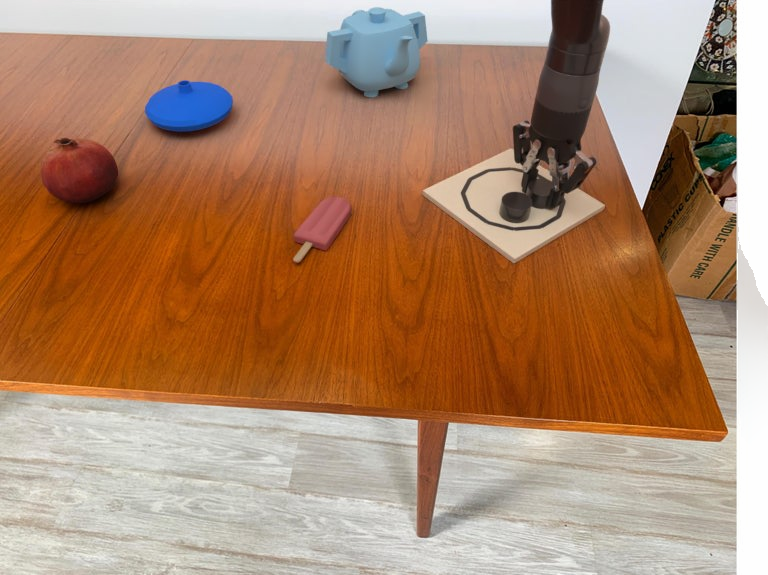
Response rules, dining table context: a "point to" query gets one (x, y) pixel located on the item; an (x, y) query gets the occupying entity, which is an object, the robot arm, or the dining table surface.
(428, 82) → the dining table surface
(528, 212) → the dot left
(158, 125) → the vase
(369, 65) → the teapot
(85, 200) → the fruit
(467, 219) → the board
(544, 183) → the dot right
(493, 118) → the dining table surface
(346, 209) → the popsicle
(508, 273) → the dining table surface
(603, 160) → the dining table surface
